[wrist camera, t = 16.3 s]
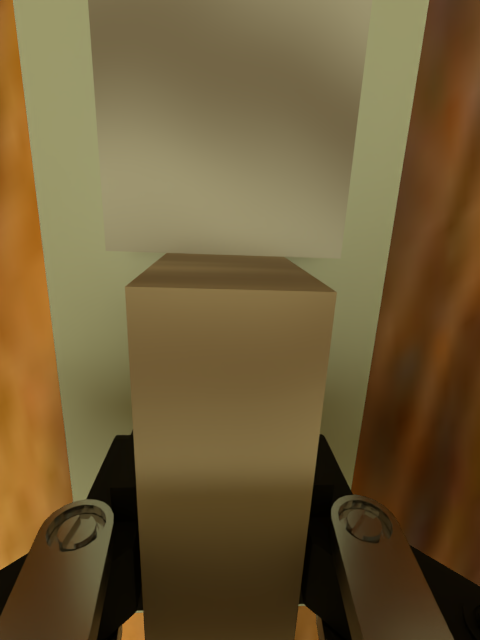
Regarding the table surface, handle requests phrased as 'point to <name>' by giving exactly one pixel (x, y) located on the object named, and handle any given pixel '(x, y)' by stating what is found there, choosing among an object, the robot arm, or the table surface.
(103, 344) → the board
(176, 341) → the turner
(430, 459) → the table surface
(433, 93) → the table surface
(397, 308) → the table surface
